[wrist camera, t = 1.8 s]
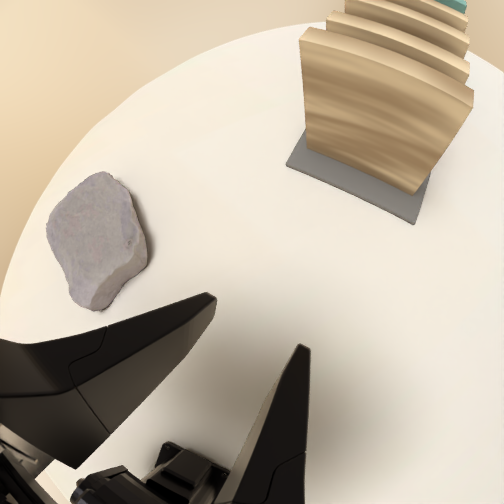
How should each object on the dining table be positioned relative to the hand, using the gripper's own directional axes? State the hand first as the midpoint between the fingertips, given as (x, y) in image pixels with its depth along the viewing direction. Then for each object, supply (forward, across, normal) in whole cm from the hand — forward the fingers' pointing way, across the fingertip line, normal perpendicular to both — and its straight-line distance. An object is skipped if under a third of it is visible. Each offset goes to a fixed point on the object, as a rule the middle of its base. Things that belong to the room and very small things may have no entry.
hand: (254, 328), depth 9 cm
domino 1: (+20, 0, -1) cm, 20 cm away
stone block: (+9, +19, +11) cm, 24 cm away
